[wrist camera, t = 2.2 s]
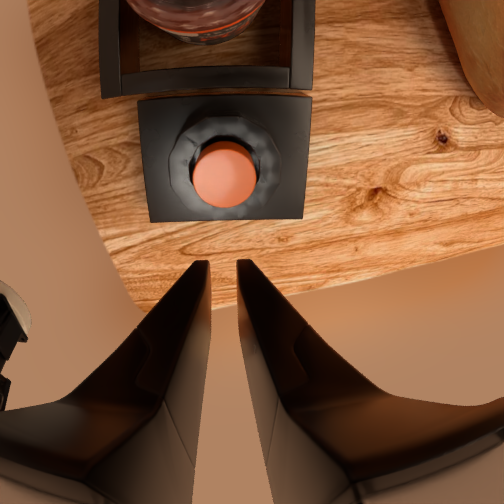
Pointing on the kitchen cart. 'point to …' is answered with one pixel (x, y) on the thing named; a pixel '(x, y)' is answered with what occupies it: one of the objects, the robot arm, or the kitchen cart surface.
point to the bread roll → (479, 46)
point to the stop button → (224, 174)
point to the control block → (225, 129)
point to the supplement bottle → (199, 18)
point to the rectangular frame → (203, 77)
